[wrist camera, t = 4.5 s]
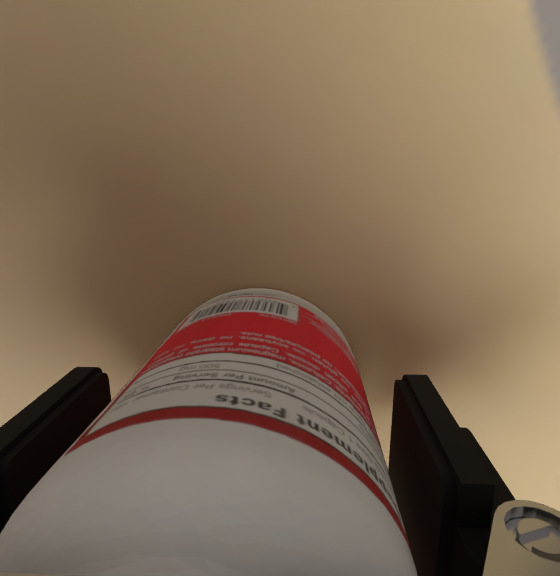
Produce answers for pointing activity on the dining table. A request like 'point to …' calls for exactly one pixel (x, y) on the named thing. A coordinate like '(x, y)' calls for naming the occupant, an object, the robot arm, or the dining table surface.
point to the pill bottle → (224, 460)
